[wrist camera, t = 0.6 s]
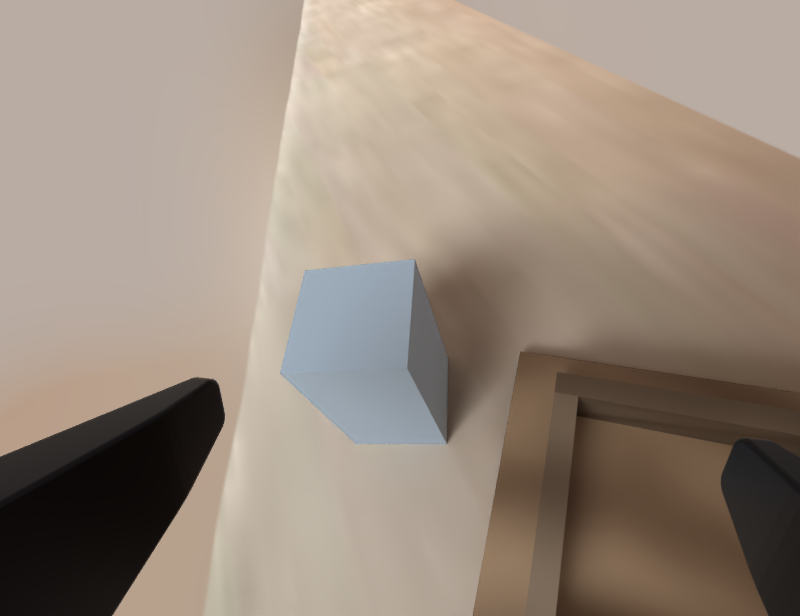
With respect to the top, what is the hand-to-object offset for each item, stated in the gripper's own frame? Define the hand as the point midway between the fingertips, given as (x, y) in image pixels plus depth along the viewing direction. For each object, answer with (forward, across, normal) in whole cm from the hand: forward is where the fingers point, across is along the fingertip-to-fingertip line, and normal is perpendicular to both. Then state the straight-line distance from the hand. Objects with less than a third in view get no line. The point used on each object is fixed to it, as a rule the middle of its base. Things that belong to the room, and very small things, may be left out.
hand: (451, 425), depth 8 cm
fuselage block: (+14, +3, +10) cm, 17 cm away
